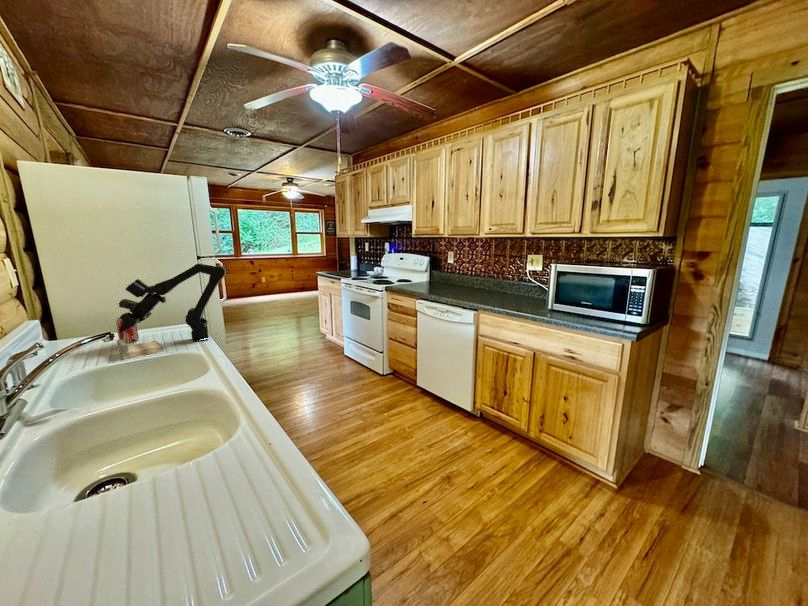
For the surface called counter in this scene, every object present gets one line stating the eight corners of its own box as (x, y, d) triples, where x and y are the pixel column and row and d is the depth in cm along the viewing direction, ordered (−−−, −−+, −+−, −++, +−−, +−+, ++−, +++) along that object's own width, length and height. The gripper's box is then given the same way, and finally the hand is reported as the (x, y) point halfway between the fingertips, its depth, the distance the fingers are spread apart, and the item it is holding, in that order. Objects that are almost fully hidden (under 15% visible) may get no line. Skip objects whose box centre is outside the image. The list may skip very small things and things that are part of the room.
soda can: (130, 344, 150) (126, 319, 148) (115, 345, 150) (110, 319, 148) (143, 340, 157) (138, 315, 155) (128, 340, 157) (124, 316, 155)
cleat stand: (156, 345, 155) (154, 333, 153) (163, 351, 147) (161, 338, 146) (119, 353, 144) (116, 340, 143) (124, 359, 137) (122, 345, 136)
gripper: (139, 289, 159) (115, 314, 157) (121, 296, 141) (94, 323, 140) (161, 304, 163) (138, 328, 161) (146, 312, 146) (120, 338, 144)
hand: (123, 329), depth 152 cm, fingers closed on soda can, 7 cm apart
